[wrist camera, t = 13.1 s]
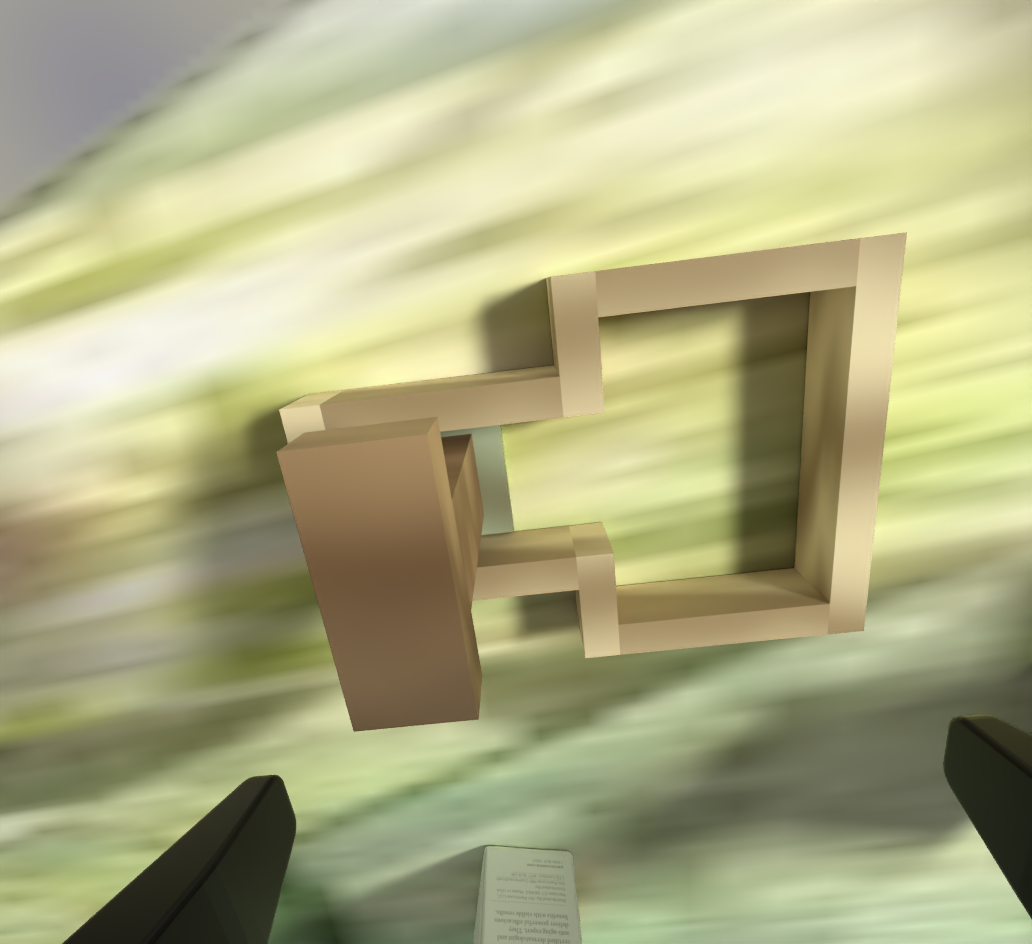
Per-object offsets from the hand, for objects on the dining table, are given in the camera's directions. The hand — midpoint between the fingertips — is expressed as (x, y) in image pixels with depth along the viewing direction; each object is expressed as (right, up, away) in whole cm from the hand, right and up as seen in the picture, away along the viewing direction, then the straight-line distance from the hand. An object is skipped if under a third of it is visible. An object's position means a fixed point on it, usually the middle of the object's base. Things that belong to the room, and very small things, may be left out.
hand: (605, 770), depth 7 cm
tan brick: (-4, +4, +12) cm, 13 cm away
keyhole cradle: (+1, +4, +12) cm, 12 cm away
